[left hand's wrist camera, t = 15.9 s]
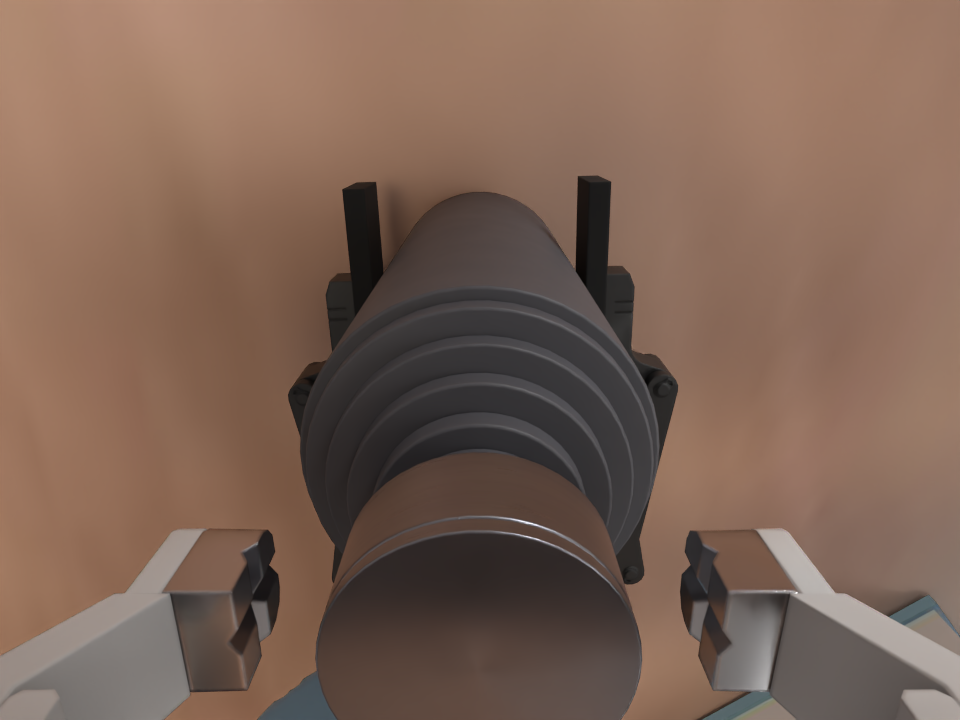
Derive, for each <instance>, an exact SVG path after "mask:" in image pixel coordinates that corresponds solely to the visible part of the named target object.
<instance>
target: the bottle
mask: <svg viewBox="0 0 960 720" xmlns="http://www.w3.org/2000/svg"><path fill="white" fill-rule="evenodd" d="M468 452H490V453H499V454H507V455H511V456H515V457H519V458H524V459H527V460H529V461H532V462H535V463H537V464H540V465H543V466H544V467H546V468H548V469H550V470H552V471H554V472H556V473H558V474H559V475H561V476H562V477H564V478H565V479H566V480H568V481H569V482H571V483H572V484H573V485H575V486H576V487H577V488H578V489H579V490H580V491H581V492H582V493H583V494H584V495H585V496H586V497H587V498H588V499H589V501H590V502H591V503H592V504H593V506H594V507H595V508H596V510H597V511H598V513H599V515H600V516H601V518H602V520H603V522H604V524H605V526H606V529H607V531H608V534H609V537H610V540H611V543H612V546H613V549H614V553H615V556H616V555H617V554H618V553H619V551H620V550H621V549H622V547H623V546H624V545H625V543H626V542H627V541H628V539H629V538H630V536H631V535H632V533H633V531H634V529H635V528H636V526H637V524H638V522H639V521H640V518H641V516H642V513H643V511H644V509H645V506H646V504H647V501H648V499H649V496H650V494H651V491H652V489H653V485H654V481H655V476H656V472H657V468H658V457H659V432H658V423H657V418H656V413H655V408H654V404H653V402H652V399H651V396H650V393H649V391H648V388H647V385H646V383H645V381H644V380H643V378H642V376H641V374H640V372H639V371H638V369H637V367H636V365H635V363H634V362H633V360H632V359H631V357H630V356H629V354H628V353H627V351H626V349H625V348H624V346H623V345H622V343H621V342H620V340H619V338H618V337H617V335H616V334H615V332H614V331H613V329H612V328H611V326H610V324H609V323H608V321H607V320H606V318H605V317H604V315H603V313H602V312H601V310H600V309H599V307H598V306H597V304H596V303H595V301H594V299H593V298H592V296H591V295H590V293H589V292H588V290H587V288H586V287H585V285H584V284H583V282H582V281H581V279H580V278H579V276H578V274H577V273H576V271H575V270H574V268H573V267H572V265H571V263H570V262H569V260H568V259H567V257H566V256H565V254H564V252H563V251H562V249H561V248H560V246H559V245H558V243H557V242H556V240H555V238H554V237H553V235H552V234H551V232H550V231H549V229H548V228H547V226H546V225H545V224H544V222H543V221H542V220H541V219H540V218H539V217H538V216H537V215H536V214H535V213H534V212H533V211H532V210H531V209H529V208H528V207H527V206H525V205H524V204H522V203H520V202H518V201H517V200H514V199H512V198H510V197H507V196H504V195H500V194H496V193H488V192H472V193H465V194H461V195H457V196H454V197H451V198H449V199H447V200H444V201H442V202H441V203H439V204H437V205H436V206H434V207H433V208H432V209H430V210H429V211H428V212H427V213H426V214H424V216H423V217H422V218H421V219H420V220H419V221H418V222H417V223H416V225H415V226H414V228H413V229H412V231H411V232H410V234H409V235H408V237H407V238H406V240H405V241H404V243H403V244H402V246H401V248H400V249H399V251H398V252H397V254H396V255H395V257H394V258H393V260H392V261H391V263H390V264H389V266H388V267H387V269H386V271H385V272H384V274H383V275H382V277H381V278H380V280H379V281H378V283H377V284H376V286H375V287H374V289H373V290H372V292H371V294H370V295H369V297H368V298H367V300H366V301H365V303H364V304H363V306H362V307H361V309H360V310H359V312H358V313H357V315H356V317H355V318H354V320H353V321H352V323H351V324H350V326H349V327H348V329H347V330H346V332H345V333H344V335H343V336H342V338H341V340H340V341H339V343H338V344H337V346H336V347H335V349H334V350H333V352H332V353H331V355H330V356H329V358H328V360H327V361H326V363H325V364H324V366H323V367H322V369H321V371H320V373H319V375H318V376H317V378H316V380H315V382H314V384H313V386H312V388H311V391H310V394H309V397H308V400H307V403H306V406H305V409H304V414H303V420H302V426H301V439H300V454H301V462H302V470H303V475H304V479H305V482H306V486H307V489H308V493H309V495H310V498H311V500H312V502H313V505H314V507H315V510H316V512H317V514H318V517H319V519H320V521H321V524H322V525H323V527H324V529H325V530H326V532H327V534H328V535H329V537H330V539H331V540H332V542H333V543H334V544H335V545H336V547H337V548H338V549H339V550H340V552H341V553H342V554H343V553H344V550H345V547H346V544H347V540H348V537H349V534H350V532H351V529H352V527H353V525H354V522H355V520H356V518H357V517H358V515H359V513H360V512H361V510H362V508H363V507H364V506H365V504H366V503H367V502H368V501H369V500H370V498H371V497H372V496H373V495H374V494H375V493H376V492H377V491H378V490H379V489H380V488H381V487H383V486H384V485H385V484H386V483H387V482H389V481H390V480H392V479H393V478H394V477H396V476H397V475H399V474H400V473H402V472H404V471H406V470H408V469H410V468H412V467H414V466H416V465H418V464H420V463H423V462H426V461H429V460H431V459H434V458H438V457H443V456H447V455H451V454H459V453H468Z"/></svg>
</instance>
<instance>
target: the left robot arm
mask: <svg viewBox="0 0 960 720" xmlns="http://www.w3.org/2000/svg"><path fill="white" fill-rule="evenodd" d="M274 553H275V548H274V542H273V536H272V534H271V533H270V532H269V531H268V530H251V529H205V528H203V529H177V530H174V531H172V532H171V533H170V534H169V536H168V537H167V538H166V540H165V541H164V542H163V543H162V545H161V546H160V547H159V549H158V550H157V551H156V553H155V554H154V555H153V557H152V558H151V559H150V560H149V562H148V563H147V564H146V566H145V567H144V568H143V570H142V571H141V572H140V574H139V575H138V576H137V578H136V579H135V580H134V581H133V583H132V584H131V585H130V587H129V588H128V589H127V591H126V592H125V593H115V594H113V595H111V596H109V597H107V598H105V599H104V600H102V601H100V602H98V603H96V604H94V605H93V606H91V607H89V608H87V609H85V610H83V611H82V612H80V613H78V614H76V615H74V616H72V617H71V618H69V619H67V620H65V621H63V622H61V623H60V624H58V625H56V626H54V627H52V628H50V629H49V630H47V631H45V632H43V633H41V634H39V635H38V636H36V637H34V638H32V639H30V640H28V641H27V642H25V643H23V644H21V645H19V646H17V647H16V648H14V649H12V650H10V651H8V652H6V653H4V654H3V655H1V656H0V720H164V719H165V718H166V717H167V716H168V715H169V714H170V713H172V712H173V711H174V710H175V709H176V708H177V707H178V706H179V705H180V704H181V703H183V702H184V701H185V700H186V699H187V698H188V697H189V696H190V692H214V691H247V690H248V687H249V685H250V683H251V680H252V678H253V675H254V673H255V671H256V668H257V666H258V663H259V661H260V659H261V656H262V655H261V648H260V642H261V641H262V640H263V639H265V638H266V637H267V636H269V635H270V634H271V632H272V629H273V627H274V624H275V621H276V618H277V612H278V607H279V596H280V586H279V578H278V574H277V573H276V572H275V571H274V570H273V569H272V568H271V566H270V565H269V564H270V562H271V560H272V557H273V555H274ZM685 553H686V555H687V557H688V560H689V562H690V564H691V565H690V566H689V568H688V569H687V570H686V571H685V572H684V573H683V574H682V578H681V589H680V596H681V609H682V613H683V617H684V621H685V624H686V627H687V629H688V632H689V634H690V635H691V636H693V637H694V638H695V639H697V640H698V641H699V642H700V648H699V655H698V656H699V659H700V661H701V663H702V666H703V668H704V671H705V673H706V675H707V678H708V680H709V683H710V685H711V687H712V690H713V691H746V692H770V694H769V695H770V696H771V697H772V698H773V699H774V700H776V701H777V702H778V703H779V704H780V705H781V706H782V707H783V708H784V709H785V710H787V711H788V712H789V713H790V714H791V715H792V716H793V717H794V718H795V719H796V720H960V656H959V655H957V654H955V653H953V652H952V651H950V650H948V649H946V648H944V647H942V646H941V645H939V644H937V643H935V642H933V641H931V640H930V639H928V638H926V637H924V636H922V635H920V634H919V633H917V632H915V631H913V630H911V629H909V628H908V627H906V626H904V625H902V624H900V623H898V622H897V621H895V620H893V619H891V618H889V617H888V616H886V615H884V614H882V613H880V612H878V611H877V610H875V609H873V608H871V607H869V606H867V605H866V604H864V603H862V602H860V601H858V600H856V599H855V598H853V597H851V596H849V595H847V594H845V593H835V592H834V591H833V589H832V588H831V587H830V585H829V584H828V583H827V582H826V580H825V579H824V578H823V576H822V575H821V574H820V572H819V571H818V570H817V569H816V567H815V566H814V565H813V563H812V562H811V561H810V559H809V558H808V557H807V555H806V554H805V553H804V552H803V550H802V549H801V548H800V546H799V545H798V544H797V542H796V541H795V540H794V539H793V537H792V536H791V535H790V533H789V532H788V531H786V530H784V529H782V528H769V529H751V530H700V531H690V532H689V534H688V537H687V541H686V547H685Z"/></svg>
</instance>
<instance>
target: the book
mask: <svg viewBox="0 0 960 720" xmlns="http://www.w3.org/2000/svg"><path fill="white" fill-rule="evenodd" d="M889 618H891V619H893V620H895V621H897V622H898V623H900V624H902V625H904V626H906V627H908V628H909V629H911V630H913V631H915V632H917V633H919V634H920V635H922V636H924V637H926V638H928V639H930V640H931V641H933V642H935V643H937V644H939V645H941V646H942V647H944V648H946V649H948V650H950V651H952V652H953V653H955V654H957V655H959V656H960V636H959V634H958V633H957V631H956V630H955V629H954V627H953V626H952V624H951V623H950V622H949V620H948V619H947V617H946V616H945V614H944V613H943V612H942V610H941V609H940V607H939V606H938V604H937V603H936V602H935V601H934V600H933V599H932V598H931V597H930V596H929V595H927V596H926V597H924V598H922V599H920V600H918V601H916V602H915V603H913V604H911V605H909V606H907V607H906V608H904V609H902V610H900V611H898V612H896V613H895V614H893V615H891V616H889ZM769 694H770V692H751V693H749V694H748V695H746V696H744V697H742V698H740V699H739V700H737V701H735V702H733V703H731V704H729V705H728V706H726V707H724V708H722V709H720V710H719V711H717V712H715V713H713V714H711V715H710V716H708V717H706V718H704V719H702V720H796V719H795V718H794V717H793V716H792V715H791V714H790V713H789V712H788V711H787V710H785V709H784V708H783V707H782V706H781V705H780V704H779V703H778V702H777V701H776V700H774V699H773V698H772V697H771V696H770V695H769Z"/></svg>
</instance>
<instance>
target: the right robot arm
mask: <svg viewBox="0 0 960 720" xmlns="http://www.w3.org/2000/svg"><path fill="white" fill-rule="evenodd" d="M342 191H343V201H344V211H345V221H346V231H347V241H348V251H349V261H350V271H351V273H338V274H337V275H336V276H335V277H334V278H333V279H332V280H331V281H330V282H329V286H328V289H327V292H326V302H327V309H328V319H329V328H330V337H331V345H332V352H333V350H334V349H335V347H336V346H337V344H338V343H339V341H340V340H341V338H342V336H343V335H344V333H345V332H346V330H347V329H348V327H349V326H350V324H351V323H352V321H353V320H354V318H355V317H356V315H357V313H358V312H359V310H360V309H361V307H362V306H363V304H364V303H365V301H366V300H367V298H368V297H369V295H370V294H371V292H372V290H373V289H374V287H375V286H376V284H377V283H378V281H379V280H380V278H381V277H382V275H383V274H384V273H383V261H382V249H381V237H380V224H379V212H378V200H377V187H376V182H361V183H355V184H353V185H351V186H349V187H346V188H344V189H342ZM610 195H611V181H608V180H606V179H604V178H602V177H599V176H578V195H577V235H576V273H577V274H578V276H579V278H580V279H581V281H582V282H583V284H584V285H585V287H586V288H587V290H588V292H589V293H590V295H591V296H592V298H593V299H594V301H595V303H596V304H597V306H598V307H599V309H600V310H601V312H602V313H603V315H604V317H605V318H606V320H607V321H608V323H609V324H610V326H611V328H612V329H613V331H614V332H615V334H616V335H617V337H618V338H619V340H620V342H621V343H622V345H623V346H624V348H625V349H626V351H627V353H628V354H629V356H630V357H631V359H632V360H633V362H634V363H635V365H636V367H637V369H638V371H639V372H640V374H641V376H642V378H643V380H644V381H645V383H646V385H647V388H648V391H649V393H650V396H651V399H652V402H653V404H654V408H655V413H656V418H657V423H658V432H659V457H658V465H659V461H660V457H661V453H662V450H663V446H664V442H665V438H666V434H667V430H668V426H669V423H670V419H671V415H672V411H673V407H674V403H675V400H676V396H677V392H678V384H677V382H676V380H675V379H674V377H673V376H672V375H671V373H670V372H669V371H668V369H667V368H666V367H665V365H664V364H663V363H662V361H661V360H660V359H659V358H658V357H657V356H656V355H653V354H641V353H638V352H635V351H633V350H631V339H632V321H633V304H634V303H633V301H634V284H633V281H632V279H631V276H630V274H629V273H628V272H627V271H626V270H625V268H624V267H623V266H608V243H609V219H610ZM326 361H327V360H326ZM326 361H323V362H313V363H311V364H309V365H308V366H307V367H306V368H305V370H304V371H303V372H302V374H301V375H300V377H299V378H298V379H297V381H296V382H295V384H294V385H293V386H292V388H291V389H290V391H289V394H288V398H289V403H290V406H291V409H292V412H293V415H294V418H295V421H296V425H297V428H298V431H299V434H300V437H301V426H302V420H303V414H304V409H305V406H306V403H307V400H308V397H309V394H310V391H311V388H312V386H313V384H314V382H315V380H316V378H317V376H318V375H319V373H320V371H321V369H322V367H323V366H324V364H325V363H326ZM657 469H658V468H657ZM656 473H657V472H656ZM651 492H652V491H651ZM650 496H651V494H650ZM650 496H649V499H650ZM649 499H648V501H647V504H646V506H645V509H644V511H643V513H642V516H641V518H640V521H639V522H638V524H637V526H636V528H635V529H634V531H633V533H632V535H631V536H630V538H629V539H628V541H627V542H626V543H625V545H624V546H623V547H622V549H621V550H620V551H619V553H618V554H617V555H616V559H617V562H618V565H619V569H620V572H621V575H622V578H623V582H624V584H635V583H637V582H639V581H640V580H641V579H642V578H643V576H644V566H643V560H642V553H641V547H640V541H639V538H640V534H641V530H642V526H643V522H644V519H645V515H646V511H647V507H648V503H649ZM342 556H343V554H342V553H341V552H340V550H339V549H338V548H337V547H336V545H335V552H334V562H333V572H332V581H333V583H334V581H335V578H336V575H337V572H338V569H339V565H340V562H341V559H342ZM257 720H337V719H336V718H335V716H334V714H333V713H332V711H331V710H330V708H329V707H328V704H327V702H326V700H325V698H324V696H323V693H322V690H321V687H320V683H319V680H318V676H317V671H316V672H314V673H312V674H311V675H309V676H307V677H306V678H304V679H303V680H302V682H301V683H300V684H299V685H298V686H297V687H296V688H294V689H292V690H290V691H289V693H288V694H287V695H285V696H284V697H283V698H281V699H279V700H277V701H275V702H274V703H272V704H271V705H270V706H269V707H268V708H267V709H266V711H265V712H264V713H263V714H262V715H261V716H260V717H259V718H258V719H257Z"/></svg>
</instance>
